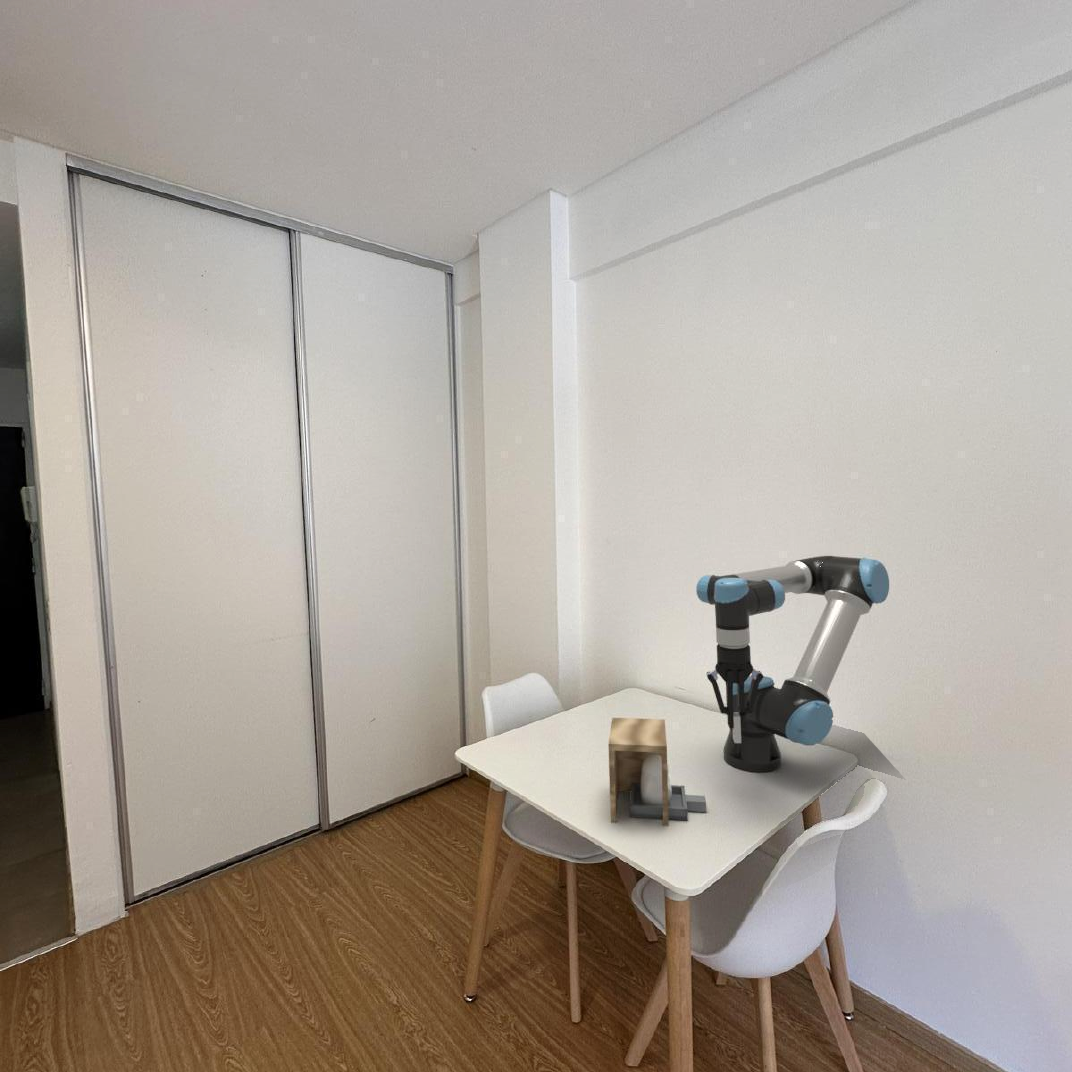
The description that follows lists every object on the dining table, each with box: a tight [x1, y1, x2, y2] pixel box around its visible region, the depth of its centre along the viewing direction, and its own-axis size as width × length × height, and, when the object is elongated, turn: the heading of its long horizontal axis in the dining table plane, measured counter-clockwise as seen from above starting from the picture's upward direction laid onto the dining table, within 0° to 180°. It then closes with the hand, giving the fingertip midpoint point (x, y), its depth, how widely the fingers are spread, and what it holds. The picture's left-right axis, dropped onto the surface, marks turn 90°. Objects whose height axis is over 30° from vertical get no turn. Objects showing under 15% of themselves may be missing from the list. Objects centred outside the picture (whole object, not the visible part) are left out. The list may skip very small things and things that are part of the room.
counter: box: [608, 717, 670, 827], centre depth 143 cm, size 13×16×18 cm
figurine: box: [641, 754, 672, 806], centre depth 142 cm, size 7×8×12 cm
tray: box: [629, 783, 707, 821], centre depth 142 cm, size 18×11×3 cm, turn 80°
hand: (737, 740), depth 142 cm, fingers closed
